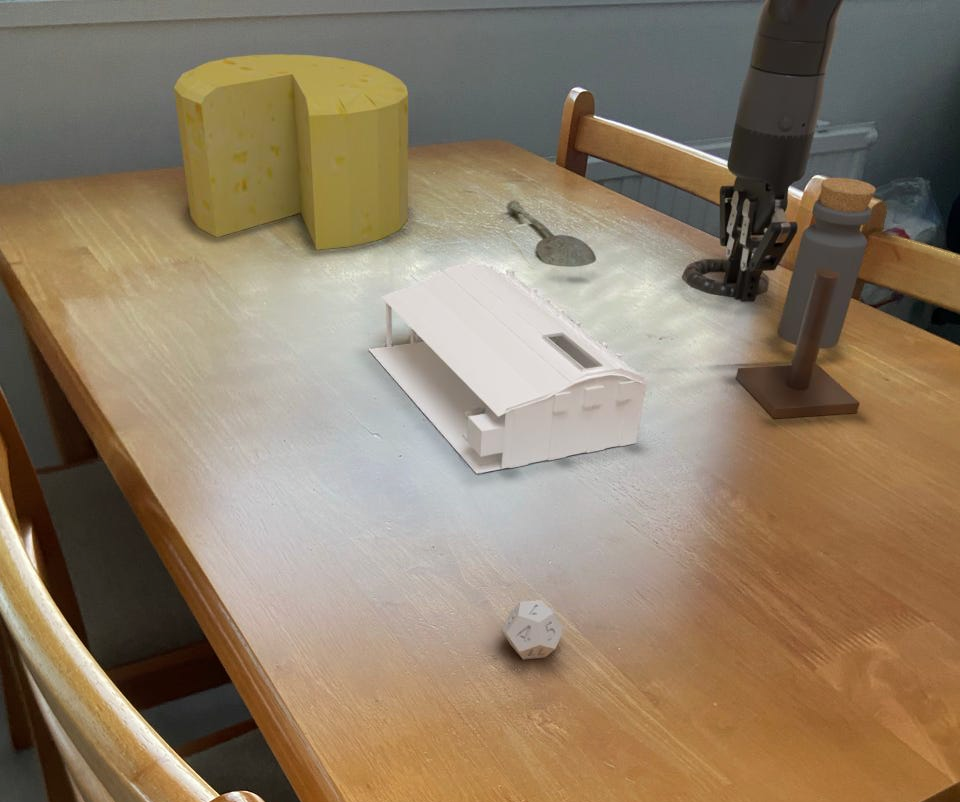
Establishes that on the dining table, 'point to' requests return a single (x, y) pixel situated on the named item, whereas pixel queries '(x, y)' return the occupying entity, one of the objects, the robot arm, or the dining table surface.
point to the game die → (532, 629)
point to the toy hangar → (508, 371)
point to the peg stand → (803, 366)
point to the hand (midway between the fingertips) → (737, 298)
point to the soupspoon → (556, 244)
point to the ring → (707, 285)
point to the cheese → (295, 146)
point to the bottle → (829, 255)
